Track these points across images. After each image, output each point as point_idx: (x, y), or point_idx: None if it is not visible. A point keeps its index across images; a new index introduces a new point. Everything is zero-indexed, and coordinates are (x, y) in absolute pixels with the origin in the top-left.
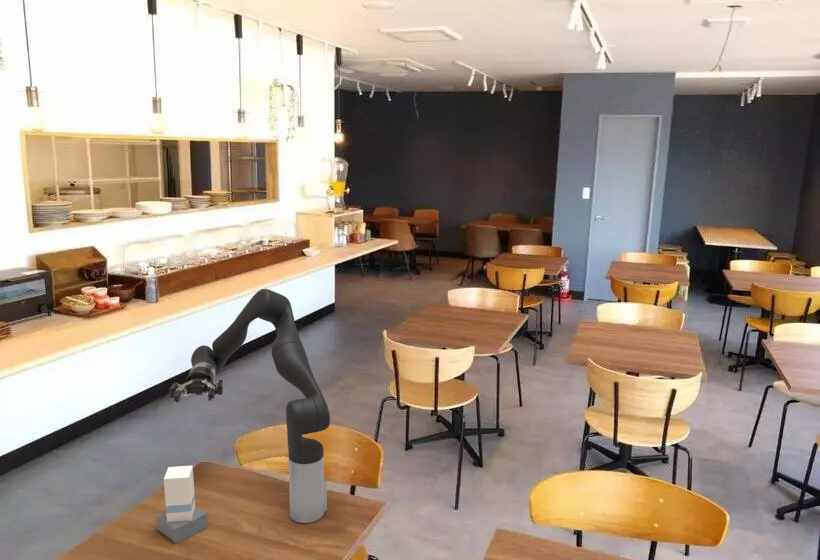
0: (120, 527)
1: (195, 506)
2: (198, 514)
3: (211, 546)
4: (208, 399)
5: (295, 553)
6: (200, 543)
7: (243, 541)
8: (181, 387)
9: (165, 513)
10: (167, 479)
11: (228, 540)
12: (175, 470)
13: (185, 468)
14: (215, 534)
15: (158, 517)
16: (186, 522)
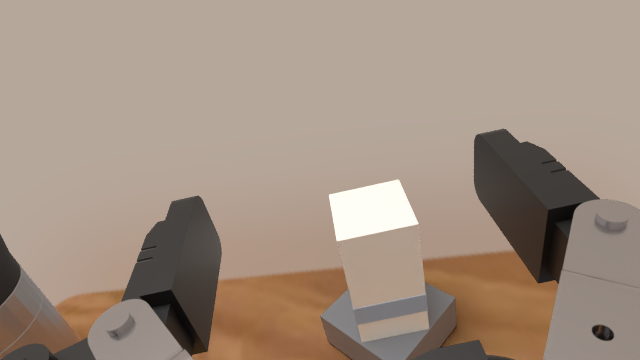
0: None
1: (361, 345)
2: (341, 311)
3: (305, 288)
4: (216, 233)
5: None
6: (331, 294)
7: (241, 307)
8: (621, 282)
9: (434, 308)
10: (389, 183)
11: (272, 307)
12: (384, 213)
13: (355, 224)
14: (304, 323)
15: (444, 292)
16: None
